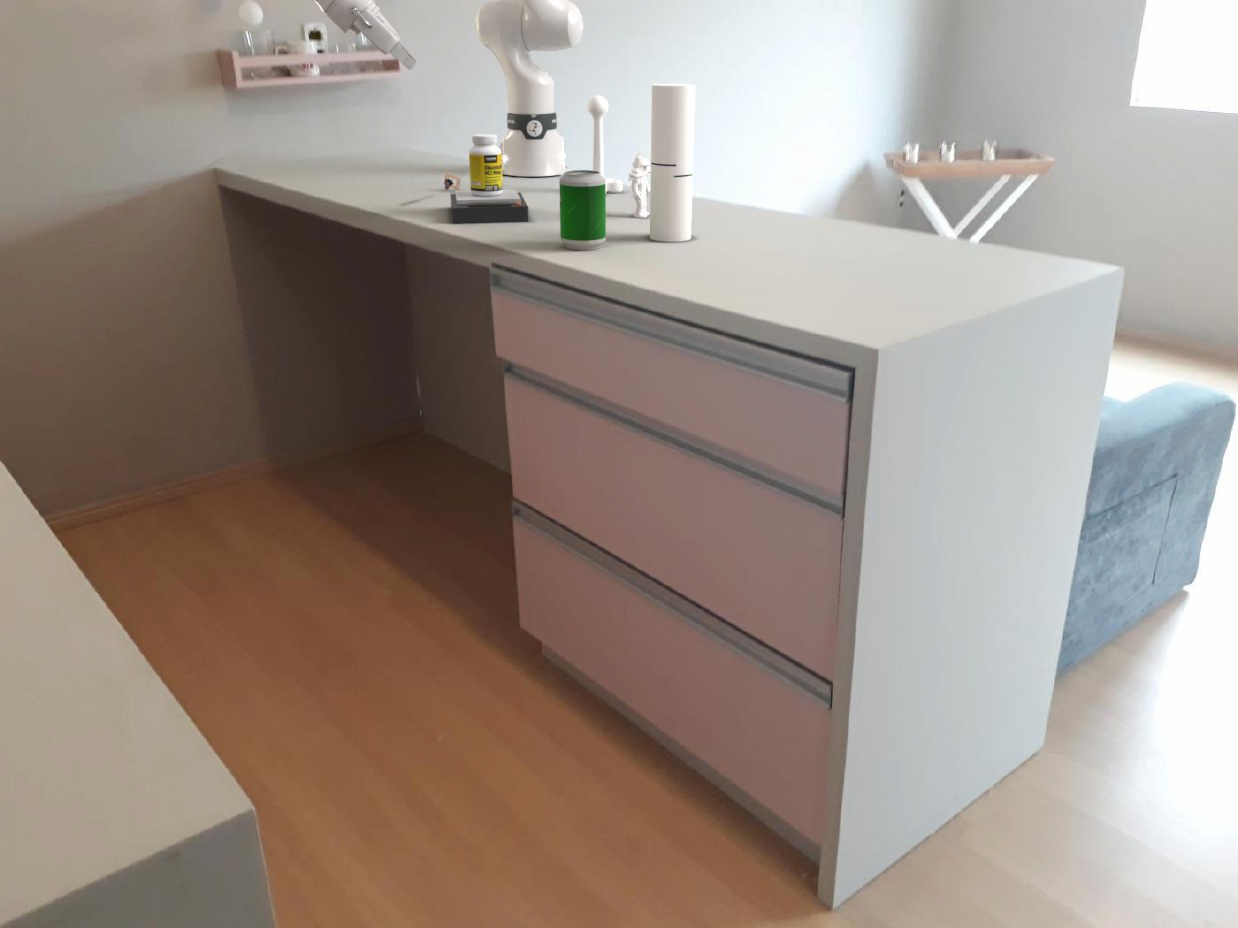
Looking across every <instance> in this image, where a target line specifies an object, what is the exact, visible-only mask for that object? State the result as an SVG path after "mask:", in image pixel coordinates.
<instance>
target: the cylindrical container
mask: <svg viewBox="0 0 1238 928" xmlns="http://www.w3.org/2000/svg"><path fill="white" fill-rule="evenodd" d="M695 110H696V84H692V83H653V84H651V118H650V120H651V123H650V126H651V127H650V134H651V135H650V164H651V166H650V170H651V173H650V175H651V177H650V188H651V189H650V196H649V198H650V199H649V201H650V203H649V210H650V211H649V239H650V240H652V241H656V242H663V243H664V242H665V243H677V242H685V241H690V240H691V239H692V216H693V215H692V211H693V183H694V182H693V180H694V179H693V178H694V177H693V176H694V174H693V173H694V147H695V146H694V145H695V113H696V112H695Z"/></svg>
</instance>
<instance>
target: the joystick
mask: <svg viewBox="0 0 1238 928" xmlns="http://www.w3.org/2000/svg"><path fill="white" fill-rule="evenodd" d="M587 111H588V113H589V115H591V117H592V120H593V133H592V134H593V135H592V136H593V137H592V139H593V141H592V143H593V144H592V171H598V172H600V173H601V175H602V176H603V177H604V178H605V180H606V193H608V194H619V193H621V192H622V191H623V189H624V188H623V185H624V184H623V183H624V182H623V180H618V179H613V177H605V163H604V162H605V161H604V159H605V158H604V157H605V156H604V126H603V125H604V124H603V123H604V122H603V121H604V118H605V115H606V114H607V113H608V111H609V102H608V100H607V99H606V98H605V96H602V95H597V94H596V95H594V96H592V97H590V99H589V100H588V102H587Z"/></svg>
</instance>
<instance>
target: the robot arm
mask: <svg viewBox="0 0 1238 928" xmlns="http://www.w3.org/2000/svg"><path fill="white" fill-rule="evenodd" d="M313 2H315V3H316V4H317V5H318V7H319V9H320V10H321V11H322V13H323V14H324V15H325V16H326V17H327V18H328V19H330V20H331V22H333V24H334V25H336V26H337V27H338V29H340V30H341V31H342V32H343V33H344V34H347V33H348V32H350V30H351V31H352V32H353V33H354V34H355V35H356V36H359V35H360V34H362V35H363V36H364V37H365V38H366V39H367V40H368V41H369V42H370V43H371V44H372V45H373V46H374V47H375V48H376V49H377V50H379V52H380V53H382V54H383V55H385V56H386V55H388V54H390V55H391V56H392V57H393V58H394V59H396V60H397V61H398V62H399V63H401V64H402V65H403V66H404V67H405V68H406V69H407V70H409V71H410V70H412V69H413V68H414V67H415V66H416V63H417V60H416V58H415V57H414V56H413V55H411V53H410V52H409V51H408V50H407V48H405V46H404V45H403V44H402V43H401V42H400V41H401V36H400V35H399V34H398V32H397V31H396V29H395V28H394V27H393V26H392V25H391V23H390V22H389V20H388V19H387V18H386V17H385V16H384V14H382V13H381V11H380V10H381V8H380V7H379V6H378V5H377V4H376V0H313ZM474 26H475V33H476V35H477V37H478V39H479V41H480V42H481V44H482V45H483V46H484V47H485V48H486V49H488V50H489V51H490V53H492V55H494V56H495V59H497V61H498V63H499V64H500V66H501V68H502V69H501V70H502V71H503V74H504V77H505V82H506V89H507V90H506V91H507V102H508V112H507V114H506V116H507V117H506V123H507V124H506V125H507V126H506V128H507V129H508V131H507V133H506V134H505V135H504V136H503V138H502V139H501V141H502V142H500V145H499V148H500V150H501V154H502V176H503V175H504V176H505V175H506V176H511V177H512V176H513V177H551V176H559V175H564V172H566V171H572V170H573V169H572V168H571V167H569V166H566V165H565V159H566V154H565V148H564V147H565V146H564V137H563V136H561V134H559V132H558V131H557V128H558V118H557V117H558V116H557V113H556V112H555V109H556V108H555V82H554V81H555V80H554V79H553V77H552V76H551V74H550V73H549V72H548V71H547V70H545V69H543V68H542V67H540V66H538V65H536V64H535V62H534V61H533V59H532V57H531V52H533V51H534V52H559V51H563V50H568V49H572V48H575V47H576V46H577V45H578V44H579V42H580V41H581V39H582V38H583V37H582V36H583V33H584V27H585V24H584V18H583V14H582V13H581V11H580V8H579V7H578V6H577V5H576V4H575V3H574V2H572V1H571V0H494V1H490V2H485V3H483V4H482V5H481V6H480V7H479V9H478V11H477V13H476V16H475V22H474Z"/></svg>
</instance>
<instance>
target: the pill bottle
mask: <svg viewBox="0 0 1238 928" xmlns="http://www.w3.org/2000/svg"><path fill="white" fill-rule="evenodd" d="M471 138H472V140H471V141H472V144H473V146H471V147H470V149H469V150H468V160H469V182H470V190H471V193H472V194H473V195H476V196H497V195H501V194H502V192H503V187H504V185H503V184H504V183H503V175H502V163H503V161H502V154H501V150H500V146H497V143H498V135H497V134H493V133H476V134H472V136H471Z"/></svg>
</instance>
